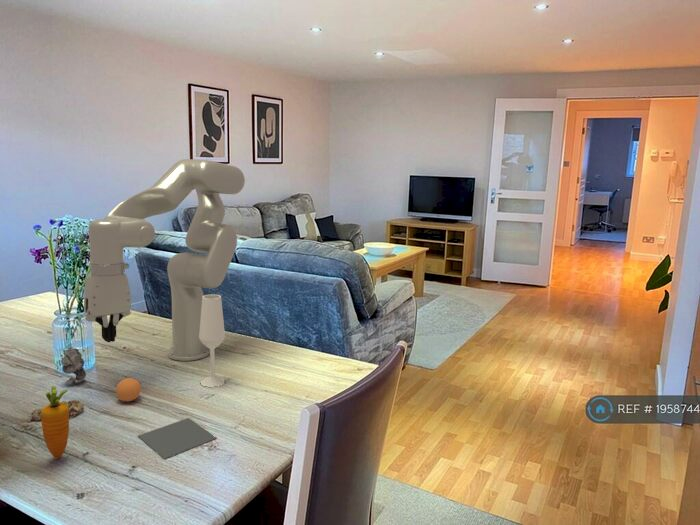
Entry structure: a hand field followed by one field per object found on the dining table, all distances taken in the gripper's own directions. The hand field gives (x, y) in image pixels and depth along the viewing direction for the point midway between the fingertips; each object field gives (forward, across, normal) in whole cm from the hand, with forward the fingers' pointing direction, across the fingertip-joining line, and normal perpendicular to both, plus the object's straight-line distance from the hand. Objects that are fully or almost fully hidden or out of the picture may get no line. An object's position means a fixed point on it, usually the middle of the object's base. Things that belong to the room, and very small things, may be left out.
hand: (109, 340), depth 131 cm
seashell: (+13, +5, -10) cm, 17 cm away
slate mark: (+13, -1, +33) cm, 36 cm away
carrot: (+14, +20, +25) cm, 35 cm away
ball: (+10, -1, +9) cm, 14 cm away
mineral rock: (+14, +14, +6) cm, 21 cm away
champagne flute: (+13, -22, +13) cm, 29 cm away
